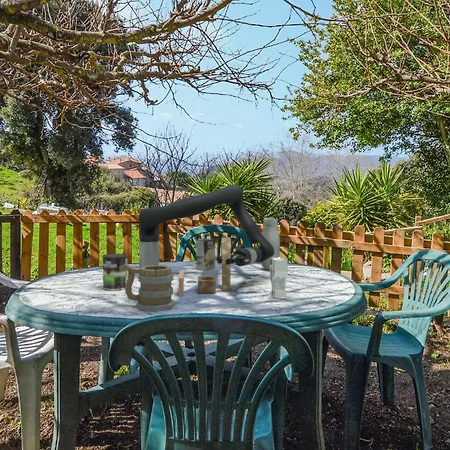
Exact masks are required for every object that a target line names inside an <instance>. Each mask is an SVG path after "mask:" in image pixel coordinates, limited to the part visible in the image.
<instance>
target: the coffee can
mask: <svg viewBox="0 0 450 450" xmlns="http://www.w3.org/2000/svg"><path fill="white" fill-rule="evenodd" d="M124 264H127V265H128V254H124V253H108V254H103V255H102V278H103V279H102V280H103V281H102V283H103V284H102V289H103V290H104V289H107V290H106V291H110V290H116V291H120V290H119V289H124V290H125V285H126V282H127V280H128V271H127V270H123V271H120V269H119V267H120V266H122V265H124Z"/></svg>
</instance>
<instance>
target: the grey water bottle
mask: <svg viewBox="0 0 450 450" xmlns="http://www.w3.org/2000/svg"><path fill="white" fill-rule="evenodd" d="M261 233H262V235H263V236H264V237H265V238H266V239H267V241H268V242H269V243H270V244H271V245H272V246H273V248H274V255H273V256H272V257H270V258H268V259H267V260H265V261H263V262H261V263H260V265H261V267H262V268H263V269H264V270H266V271H270V259H271V258H281V257H280V255H281V254H280V253H281V250H280V249H281V240H280V239H281V238H280V234H279V226H278V221H277V219H276V218H274V217H266V218H265V219H264V220H263V225H262V231H261Z"/></svg>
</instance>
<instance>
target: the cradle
mask: <svg viewBox="0 0 450 450" xmlns="http://www.w3.org/2000/svg"><path fill="white" fill-rule="evenodd" d="M215 278H216V277H215V275H213V276H211V275H210V276H209V275H207V276H206V275H205V276H204V275H202V276H197V293H198V294H212V293H213V294H216V293H217V287H216V286H217V283H216V282H217V281H216V279H215Z"/></svg>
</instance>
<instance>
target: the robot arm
mask: <svg viewBox="0 0 450 450" xmlns="http://www.w3.org/2000/svg"><path fill="white" fill-rule="evenodd" d="M243 197H244V191H243V188H242V187H241V186H240V185H238V184H229V185H227V186H224V187H222V188H218V189H216V190H213V191H209V192H205V193H201V194H197V195H192V196H189V197H184V198H181V199H179V200H178V199H177V200H175V201H173V202H171V203H169V204H166V205H162V206H158V207H157V206H156V207H147V208H144V209H143V210H141V211H140V212H139V215H138V223H139V243H138V244H139V258H138V269H140V268H142V267H144V266H152V265H155V266H156V265H160V225H161V224H163V223H165V222H169V221H175V220H181V219H185V218H190V217H193V216H198V215H200V214H203V213H205V212H208V211H209V210H210V209H212V208H214V207H217V206H221V205H225V204H227V206H228V207H229V208H230V210H231V211H232V213H233V214H234V215H235V217H236V219H237V221H238V222H239V224H240V226H241V228H242V230H243V232H244V234H245V236H246V238H247V240H248V242H249V243H250V245H251V244H252V245H255V244H258V243H259V246H258V247H256V246H253V247H252V246H251V247H244V248H239V249H235V250H234V251H233V252H232V253H231V258H230V259H226V265H229V264H231V265H236V267H244V266H248V265H251V264H254V263H257V264H261V262H263V261H265V260H267V259H268V258H270V257H272V256H273V255H274V248H273V246H272V245H271V244H270V243H269V242H268V241H267V239H266V238H265V237H264V236H263V235H262V231H261V229H260V228H259V226H258V224H257V223H256V221H255V220H254V218H253V217H252V216H251V215H250V213H249V212H248V209H247V208H246V206H245V204H244V200H243ZM216 263H217V264H221V265H222V254H221V255H219V258H217V261H216ZM138 275H140V274H138Z"/></svg>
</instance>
